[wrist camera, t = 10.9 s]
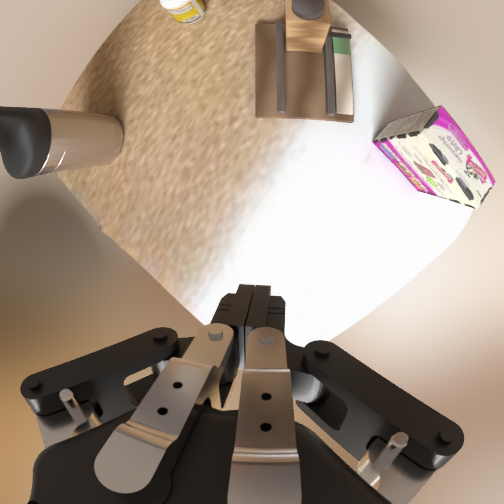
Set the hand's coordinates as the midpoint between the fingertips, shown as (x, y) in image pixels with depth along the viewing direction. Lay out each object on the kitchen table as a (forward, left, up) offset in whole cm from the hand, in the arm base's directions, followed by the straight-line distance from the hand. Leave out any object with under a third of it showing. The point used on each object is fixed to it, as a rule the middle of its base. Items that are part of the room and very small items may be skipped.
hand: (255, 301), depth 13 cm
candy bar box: (+20, +9, -29) cm, 37 cm away
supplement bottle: (-14, +34, -29) cm, 47 cm away
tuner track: (+4, +21, -29) cm, 36 cm away
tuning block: (+6, +26, -27) cm, 38 cm away
